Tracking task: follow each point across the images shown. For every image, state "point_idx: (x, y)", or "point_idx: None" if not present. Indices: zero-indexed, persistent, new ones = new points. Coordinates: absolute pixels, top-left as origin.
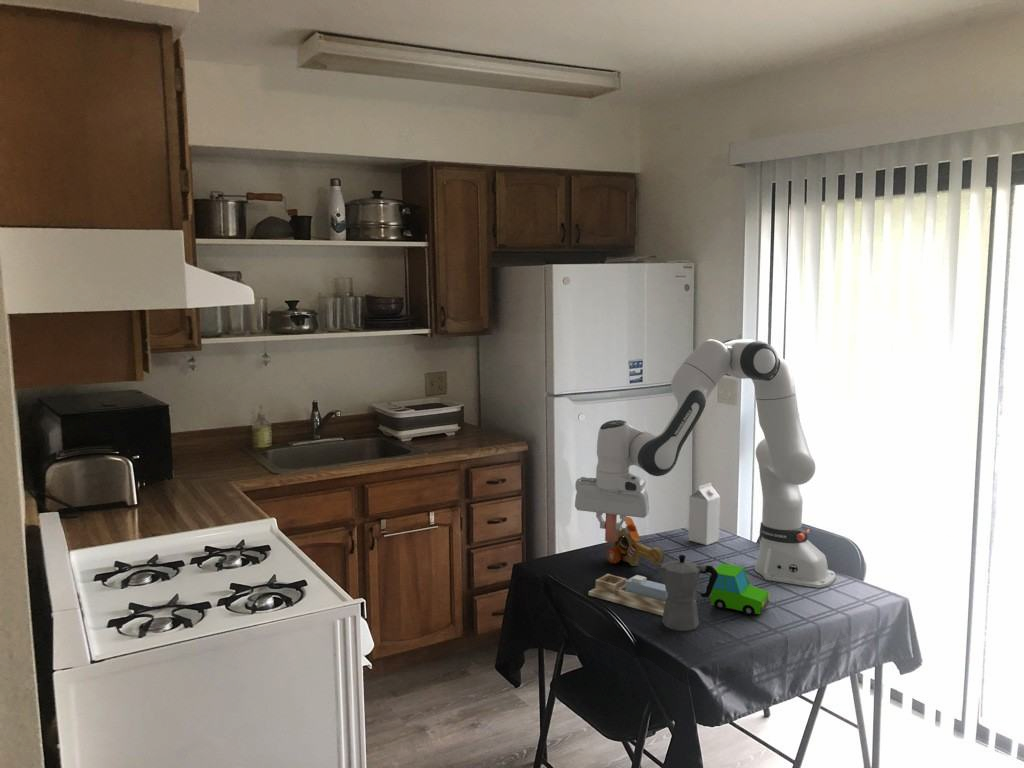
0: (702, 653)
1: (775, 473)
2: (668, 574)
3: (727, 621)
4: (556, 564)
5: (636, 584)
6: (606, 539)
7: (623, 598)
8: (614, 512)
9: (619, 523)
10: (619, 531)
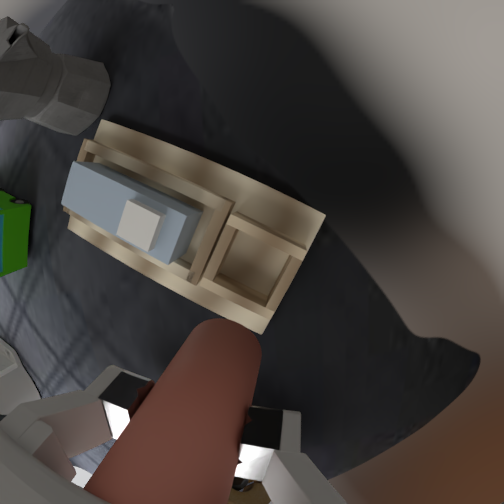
0: (71, 12)
1: None
2: (15, 22)
3: (20, 150)
4: (408, 406)
5: (149, 196)
6: (245, 336)
7: (205, 180)
8: (44, 493)
9: (85, 402)
10: (246, 501)
